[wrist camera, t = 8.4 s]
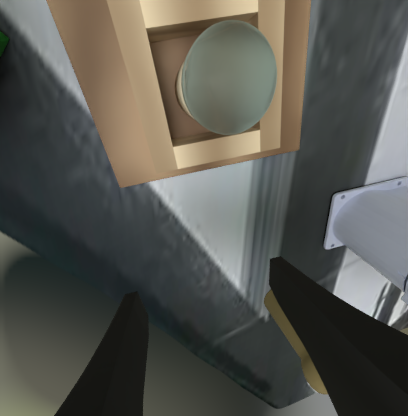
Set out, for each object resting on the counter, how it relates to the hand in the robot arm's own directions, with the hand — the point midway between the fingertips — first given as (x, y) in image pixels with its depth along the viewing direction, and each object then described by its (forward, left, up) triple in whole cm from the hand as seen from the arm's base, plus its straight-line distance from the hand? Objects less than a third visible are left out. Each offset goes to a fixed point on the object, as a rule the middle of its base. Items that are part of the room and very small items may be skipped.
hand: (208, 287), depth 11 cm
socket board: (-3, -9, -10) cm, 14 cm away
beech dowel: (-3, -9, -9) cm, 13 cm away
